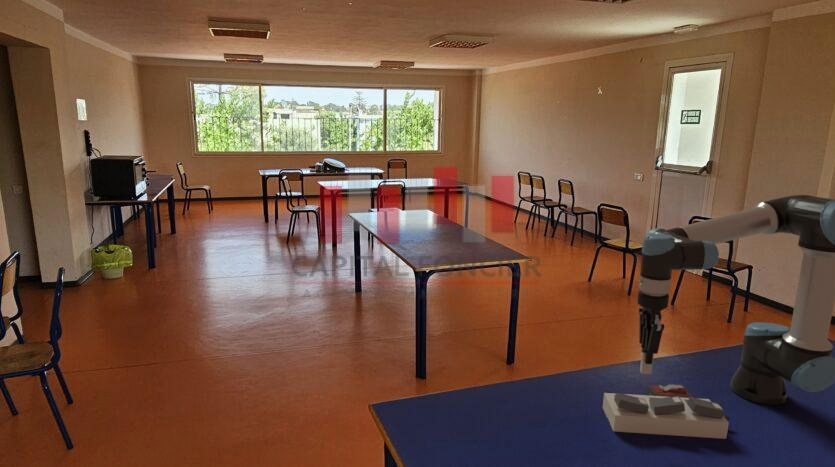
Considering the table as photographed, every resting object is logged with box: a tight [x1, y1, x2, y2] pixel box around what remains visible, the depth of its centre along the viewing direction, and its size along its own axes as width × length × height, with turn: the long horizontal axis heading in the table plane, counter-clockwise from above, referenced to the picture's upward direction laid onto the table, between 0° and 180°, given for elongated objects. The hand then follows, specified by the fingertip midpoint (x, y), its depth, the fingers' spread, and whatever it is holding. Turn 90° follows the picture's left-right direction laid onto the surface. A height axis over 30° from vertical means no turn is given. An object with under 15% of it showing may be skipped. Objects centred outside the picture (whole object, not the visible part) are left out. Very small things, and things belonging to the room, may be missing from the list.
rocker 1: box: [614, 392, 649, 414], centre depth 145 cm, size 8×4×3 cm, turn 85°
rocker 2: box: [649, 396, 685, 415], centre depth 144 cm, size 8×4×3 cm, turn 84°
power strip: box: [602, 392, 730, 440], centre depth 148 cm, size 33×12×5 cm, turn 84°
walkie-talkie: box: [646, 383, 720, 405], centre depth 160 cm, size 9×4×20 cm
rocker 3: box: [687, 396, 726, 419], centre depth 143 cm, size 8×4×3 cm, turn 85°
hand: (645, 372), depth 143 cm, fingers closed
